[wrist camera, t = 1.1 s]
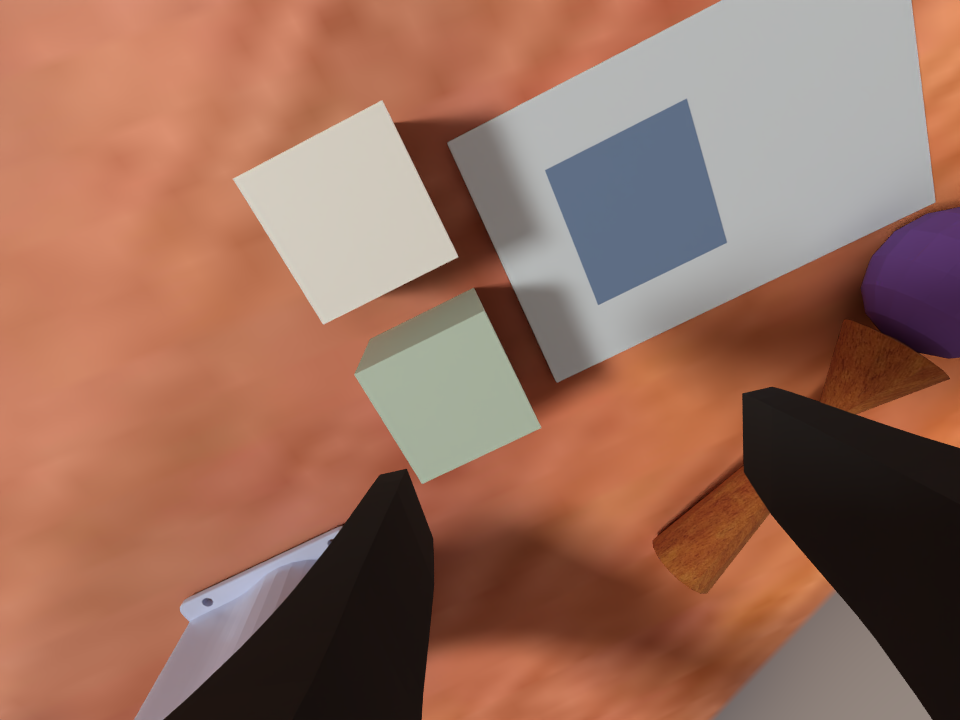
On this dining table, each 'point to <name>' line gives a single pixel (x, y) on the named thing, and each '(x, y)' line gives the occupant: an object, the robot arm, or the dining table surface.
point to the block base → (445, 387)
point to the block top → (348, 213)
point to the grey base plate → (700, 167)
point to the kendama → (846, 380)
